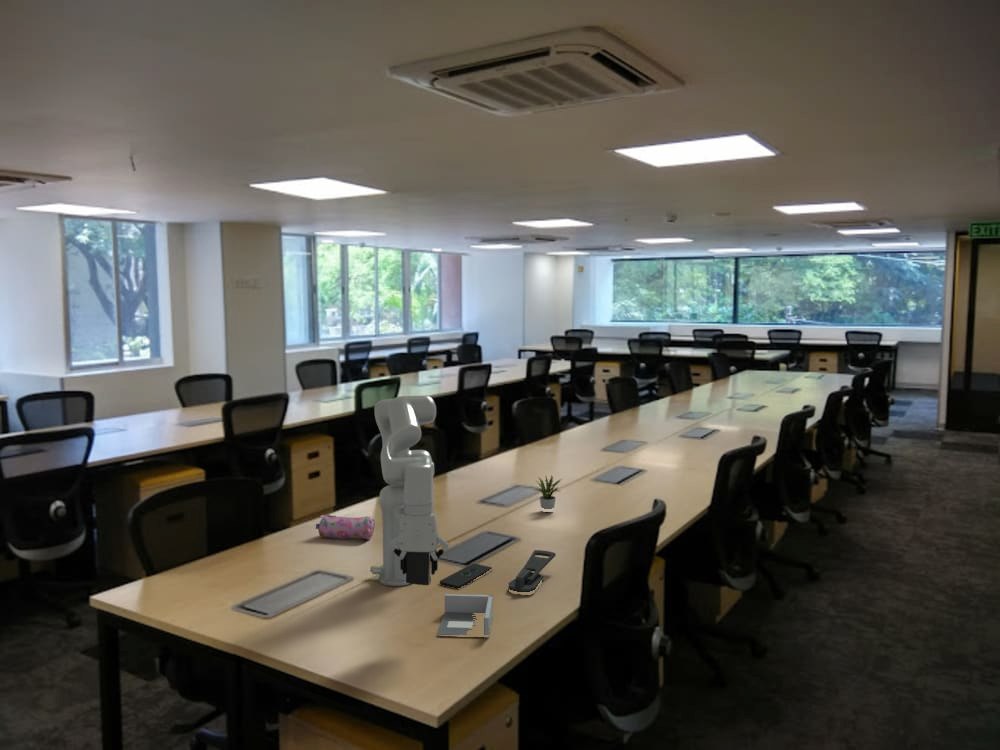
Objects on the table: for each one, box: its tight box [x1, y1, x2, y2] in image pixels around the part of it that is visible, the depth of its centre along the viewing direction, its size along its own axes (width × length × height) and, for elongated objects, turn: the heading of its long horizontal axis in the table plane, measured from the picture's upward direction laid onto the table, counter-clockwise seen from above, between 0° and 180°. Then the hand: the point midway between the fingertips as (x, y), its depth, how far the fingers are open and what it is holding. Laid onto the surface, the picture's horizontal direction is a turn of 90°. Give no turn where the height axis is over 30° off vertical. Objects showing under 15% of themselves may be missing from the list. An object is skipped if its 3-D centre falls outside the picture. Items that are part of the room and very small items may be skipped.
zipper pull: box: [508, 549, 557, 592], centre depth 239 cm, size 9×7×25 cm
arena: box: [436, 593, 494, 636], centre depth 206 cm, size 14×16×6 cm
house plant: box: [534, 474, 563, 509], centre depth 321 cm, size 14×14×16 cm
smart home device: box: [439, 563, 493, 589], centre depth 243 cm, size 8×2×20 cm
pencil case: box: [315, 514, 376, 541], centre depth 284 cm, size 21×9×9 cm, turn 79°
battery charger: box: [405, 552, 432, 586], centre depth 199 cm, size 7×4×11 cm, turn 73°
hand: (419, 572), depth 199 cm, fingers closed on battery charger, 7 cm apart
